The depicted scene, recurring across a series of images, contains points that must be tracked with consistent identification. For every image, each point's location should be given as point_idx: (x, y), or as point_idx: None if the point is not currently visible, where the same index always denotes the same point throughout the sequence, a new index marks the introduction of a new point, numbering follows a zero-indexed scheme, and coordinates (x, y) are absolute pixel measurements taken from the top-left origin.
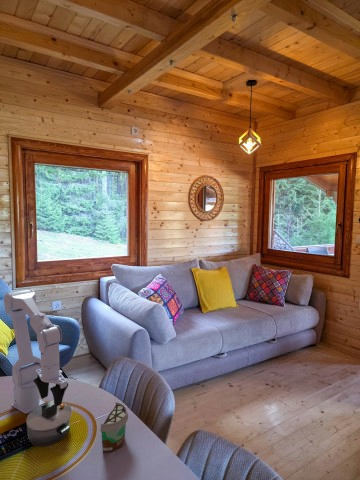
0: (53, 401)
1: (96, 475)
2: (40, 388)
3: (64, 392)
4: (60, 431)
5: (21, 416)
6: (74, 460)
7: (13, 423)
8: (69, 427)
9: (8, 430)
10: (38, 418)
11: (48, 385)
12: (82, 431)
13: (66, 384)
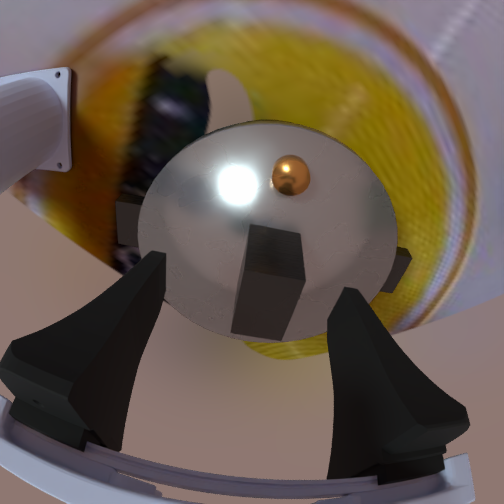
0: (266, 277)
1: (496, 296)
2: (133, 374)
3: (410, 363)
4: (382, 290)
5: (72, 185)
6: (440, 284)
7: (89, 226)
8: (410, 258)
9: (112, 258)
10: (234, 299)
11: (127, 313)
12: (417, 161)
13: (467, 470)
